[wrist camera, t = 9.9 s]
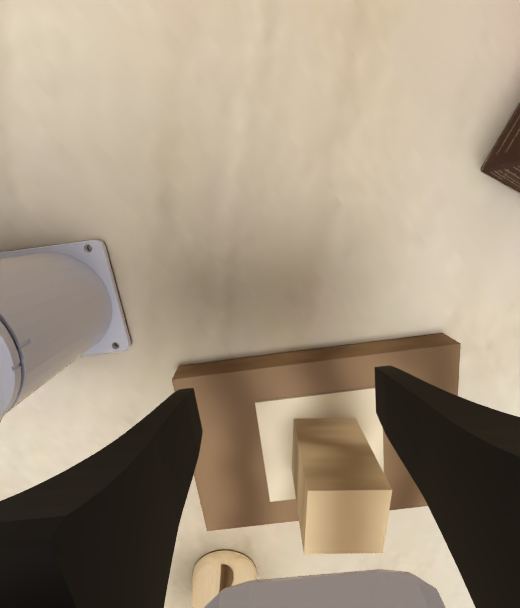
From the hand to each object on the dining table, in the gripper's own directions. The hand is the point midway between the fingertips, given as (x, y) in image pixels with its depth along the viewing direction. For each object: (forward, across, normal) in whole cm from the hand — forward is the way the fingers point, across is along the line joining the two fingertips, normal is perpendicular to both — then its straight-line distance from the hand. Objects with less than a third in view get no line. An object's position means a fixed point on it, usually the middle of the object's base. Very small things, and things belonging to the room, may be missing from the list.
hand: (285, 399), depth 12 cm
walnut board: (+10, -2, +10) cm, 15 cm away
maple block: (+8, -2, +10) cm, 13 cm away
